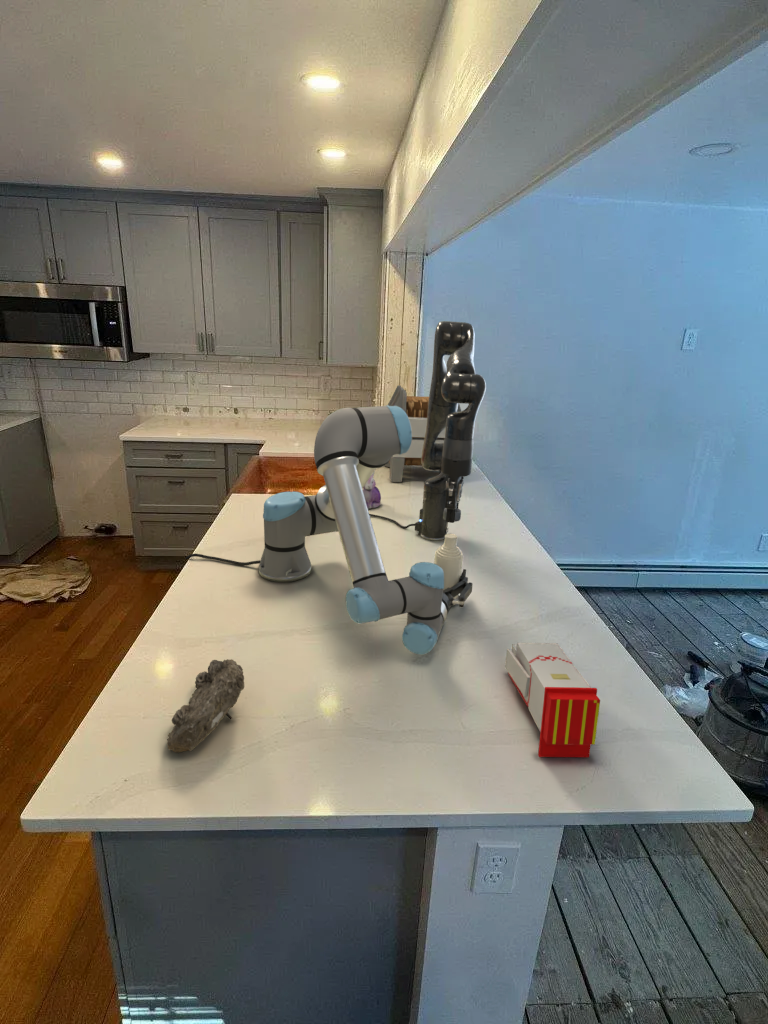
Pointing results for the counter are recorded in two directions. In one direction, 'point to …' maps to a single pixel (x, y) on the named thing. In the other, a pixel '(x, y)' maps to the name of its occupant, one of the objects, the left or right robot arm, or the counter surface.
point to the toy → (555, 698)
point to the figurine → (371, 493)
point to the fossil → (206, 705)
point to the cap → (457, 515)
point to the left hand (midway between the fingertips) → (449, 571)
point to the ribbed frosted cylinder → (449, 561)
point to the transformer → (418, 421)
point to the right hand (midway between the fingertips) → (451, 518)
